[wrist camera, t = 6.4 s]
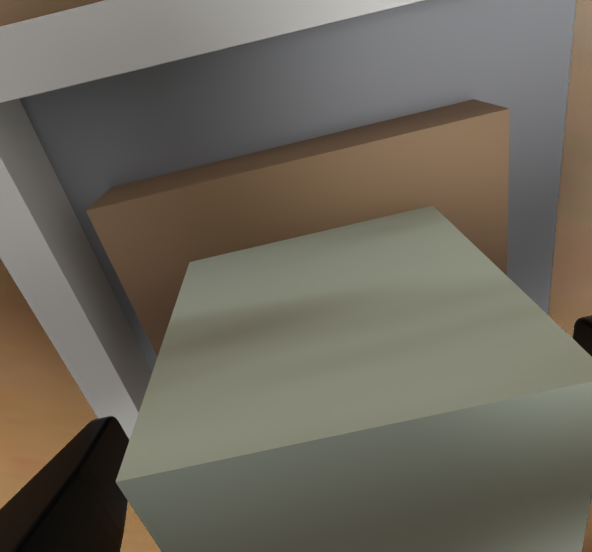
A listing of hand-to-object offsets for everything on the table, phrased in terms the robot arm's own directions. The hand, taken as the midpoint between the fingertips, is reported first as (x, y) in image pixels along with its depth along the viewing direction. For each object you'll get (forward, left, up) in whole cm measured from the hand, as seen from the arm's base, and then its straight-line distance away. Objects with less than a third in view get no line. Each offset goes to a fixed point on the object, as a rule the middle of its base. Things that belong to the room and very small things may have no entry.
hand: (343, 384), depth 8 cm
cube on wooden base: (0, 0, -3) cm, 3 cm away
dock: (0, 0, -6) cm, 6 cm away
